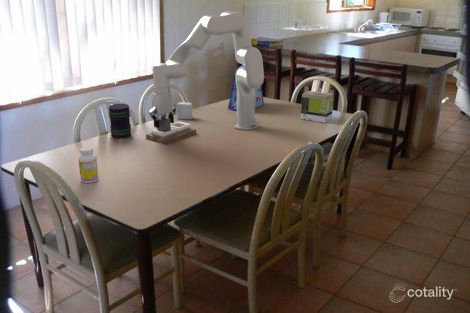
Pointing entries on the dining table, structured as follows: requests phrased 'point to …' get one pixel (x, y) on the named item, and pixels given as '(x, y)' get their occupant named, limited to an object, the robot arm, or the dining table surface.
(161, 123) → the plug
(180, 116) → the medicine box
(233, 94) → the lunch bag
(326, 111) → the tea box
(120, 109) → the storage jar
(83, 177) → the supplement bottle
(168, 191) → the dining table surface
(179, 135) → the walnut board
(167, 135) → the socket plate
